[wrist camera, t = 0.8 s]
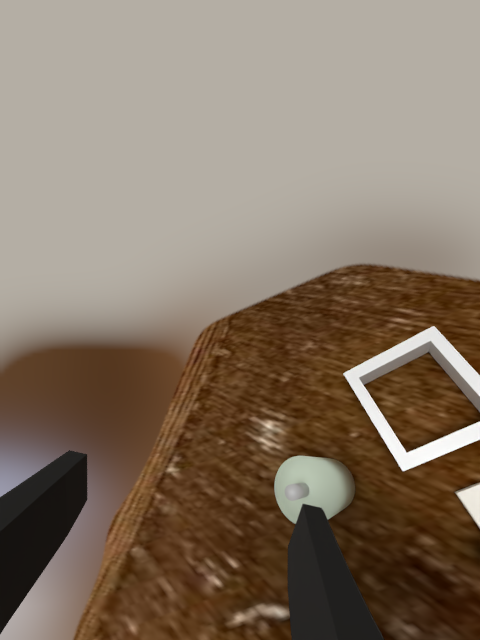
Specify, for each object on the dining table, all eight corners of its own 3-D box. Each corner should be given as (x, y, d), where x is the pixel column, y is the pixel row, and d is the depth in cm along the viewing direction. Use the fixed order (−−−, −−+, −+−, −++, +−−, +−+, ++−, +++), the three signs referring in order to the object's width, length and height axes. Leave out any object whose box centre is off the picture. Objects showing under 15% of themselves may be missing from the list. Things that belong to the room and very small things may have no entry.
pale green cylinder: (364, 500, 20) (339, 519, 13) (321, 518, 21) (275, 545, 14) (339, 450, 22) (306, 443, 15) (300, 468, 23) (251, 470, 16)
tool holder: (509, 426, 18) (522, 421, 16) (403, 470, 20) (402, 471, 18) (431, 338, 22) (433, 325, 20) (348, 381, 24) (343, 373, 22)
